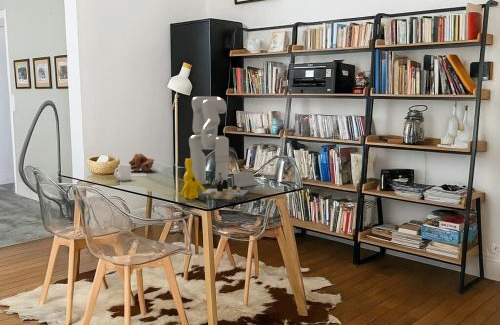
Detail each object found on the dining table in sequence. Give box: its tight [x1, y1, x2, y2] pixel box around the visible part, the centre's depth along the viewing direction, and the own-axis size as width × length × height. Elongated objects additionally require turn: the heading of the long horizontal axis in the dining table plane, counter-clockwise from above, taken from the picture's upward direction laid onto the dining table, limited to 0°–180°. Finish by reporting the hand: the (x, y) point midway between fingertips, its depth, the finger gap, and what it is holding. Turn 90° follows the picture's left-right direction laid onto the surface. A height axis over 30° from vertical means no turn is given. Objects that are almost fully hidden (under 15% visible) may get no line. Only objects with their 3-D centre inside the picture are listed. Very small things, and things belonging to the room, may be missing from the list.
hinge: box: [231, 170, 258, 188], centre depth 330 cm, size 17×5×10 cm, turn 128°
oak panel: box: [209, 189, 235, 200], centre depth 290 cm, size 12×6×4 cm, turn 77°
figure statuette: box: [179, 158, 207, 200], centre depth 289 cm, size 18×8×22 cm, turn 133°
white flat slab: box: [201, 188, 249, 197], centre depth 303 cm, size 24×13×1 cm, turn 77°
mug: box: [113, 163, 132, 182], centre depth 350 cm, size 12×8×10 cm
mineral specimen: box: [128, 153, 155, 172], centre depth 390 cm, size 22×20×15 cm
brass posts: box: [227, 186, 241, 192], centre depth 302 cm, size 7×2×2 cm, turn 77°
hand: (222, 190), depth 289 cm, fingers open, 9 cm apart
